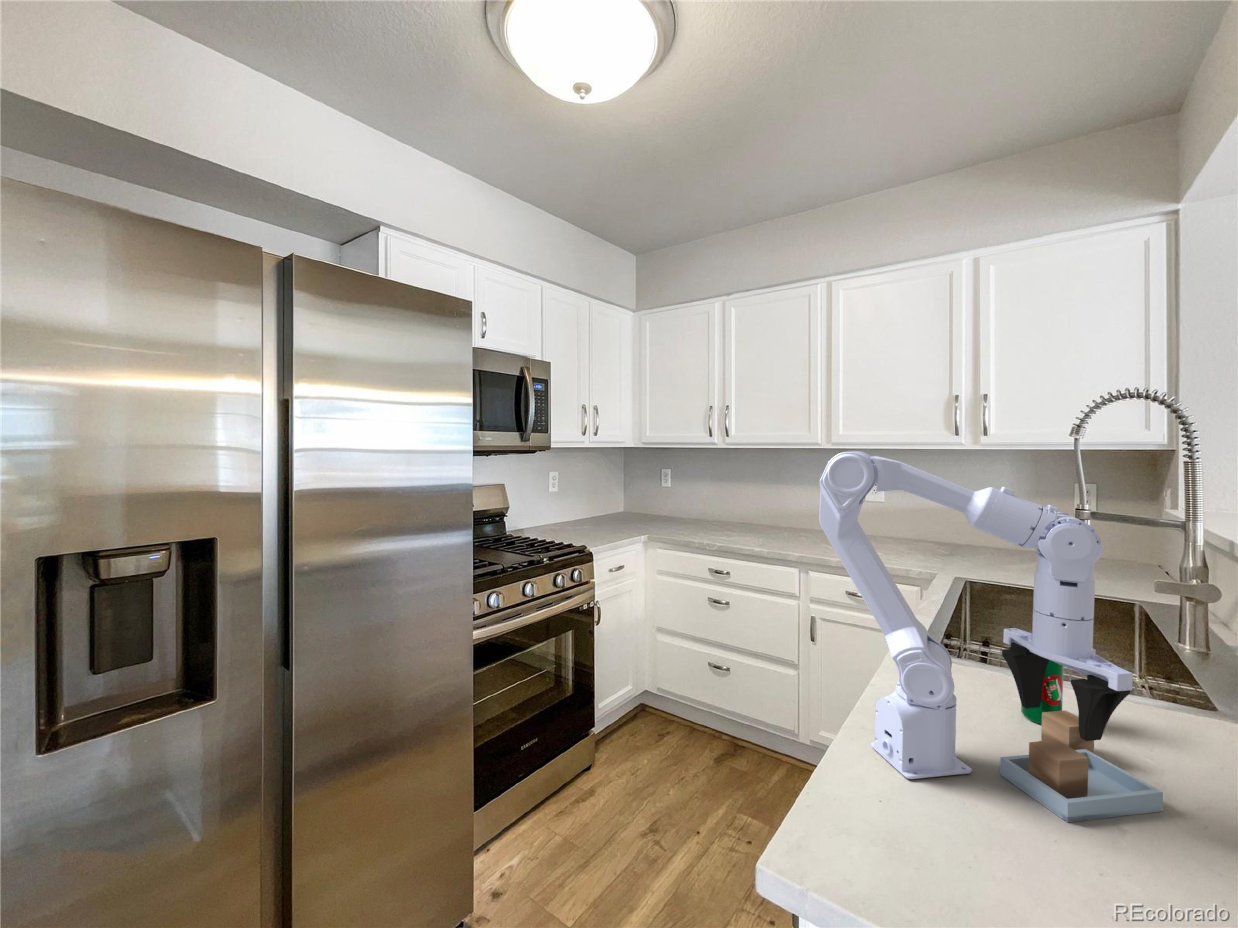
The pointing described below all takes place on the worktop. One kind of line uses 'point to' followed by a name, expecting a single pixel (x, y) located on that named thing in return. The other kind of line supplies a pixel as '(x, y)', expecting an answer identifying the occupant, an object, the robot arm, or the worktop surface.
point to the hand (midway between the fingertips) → (1058, 721)
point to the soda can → (1048, 693)
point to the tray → (1106, 790)
